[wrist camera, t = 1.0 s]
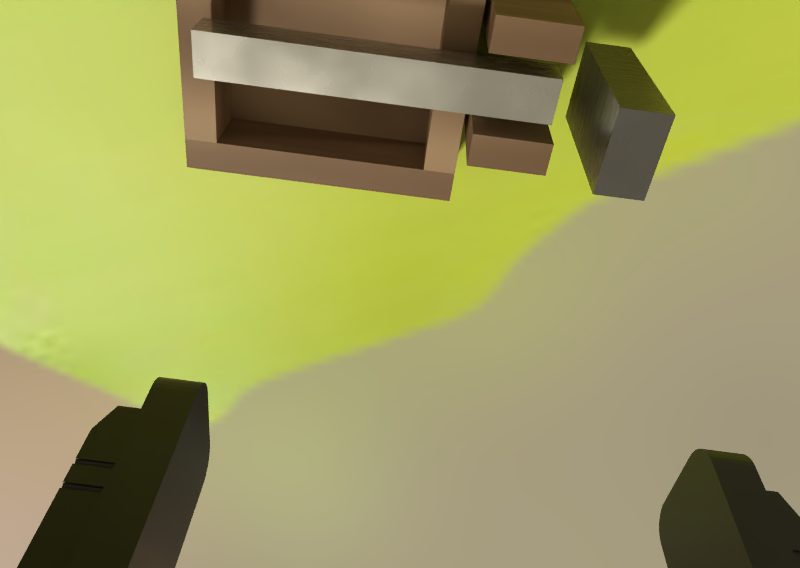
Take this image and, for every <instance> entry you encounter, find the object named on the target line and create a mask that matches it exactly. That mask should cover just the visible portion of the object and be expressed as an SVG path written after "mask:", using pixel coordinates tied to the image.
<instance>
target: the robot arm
mask: <svg viewBox="0 0 800 568" xmlns="http://www.w3.org/2000/svg"><path fill="white" fill-rule="evenodd" d="M209 452H210V435H209V412H208V391H207V385H206V383H202V382H194V381H186V380H179V379H171V378H163V377H158V378H157V379H156V380H155V381H154V383H153V385H152V387H151V389H150V391H149V393H148V395H147V397H146V399H145V401H144V404H143V406H142V408H141V409H139V408H132V407H124V406H117V407H116V408H115V409H114V410H113V411H112V412H110V413H109V414H108V415H107V416H106V417H105V418H103V419H102V420H101V421H100V422H99V423H98V424H97V425H95V426H94V427H93V428H92V429H91V431H90V433H89V434H88V436H87V438H86V440H85V442H84V444H83V445H82V447H81V449H80V451H79V453H78V455H77V457H76V461H75V464H72V466H71V468H70V470H69V472H68V474H67V475H66V477H65V479H64V481H63V486H62V488H60V489H59V490H58V492H57V494H56V496H55V498H54V500H53V501H52V504H51V505H50V507H49V509H48V511H47V513H46V515H45V516H44V518H43V520H42V522H41V524H40V526H39V528H38V530H37V531H36V533H35V535H34V537H33V539H32V541H31V543H30V544H29V546H28V549H27V550H26V552H25V554H24V556H23V558H22V559H21V561H20V563H19V565H18V567H17V568H175V566H176V563H177V560H178V557H179V554H180V551H181V548H182V545H183V542H184V539H185V536H186V533H187V530H188V527H189V525H190V522H191V519H192V516H193V513H194V510H195V507H196V504H197V501H198V498H199V495H200V492H201V489H202V486H203V483H204V480H205V476H206V471H207V467H208V461H209ZM659 533H660V540H661V545H662V548H663V552H664V556H665V559H666V563H667V567H668V568H800V517H799V516H798V515H797V513H796V512H795V511H794V510H793V509H792V508H791V506H790V505H789V504H788V503H787V502H786V501H785V500H784V498H783V497H782V496H781V495H780V494H779V493H778V492H774V491H766V490H765V488H764V485H763V483H762V481H761V479H760V476H759V474H758V472H757V470H756V467H755V465H754V463H753V462H752V460H751V459H750V458H749V457H748V456H746V455H744V454H737V453H729V452H721V451H714V450H706V449H697V450H695V451H694V452H693V453H692V454H691V456H690V458H689V459H688V461H687V463H686V465H685V466H684V468H683V470H682V472H681V473H680V475H679V477H678V479H677V481H676V482H675V484H674V486H673V488H672V490H671V491H670V493H669V495H668V497H667V498H666V500H665V502H664V504H663V506H662V509H661V514H660V521H659Z"/></svg>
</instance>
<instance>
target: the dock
mask: <svg viewBox="0 0 800 568" xmlns="http://www.w3.org/2000/svg"><path fill="white" fill-rule="evenodd" d="M176 5H177V20H178V35H179V51H180V66H181V81H182V96H183V112H184V127H185V142H186V157H187V167H190V168H198V169H206V170H213V171H221V172H229V173H237V174H245V175H252V176H260V177H268V178H276V179H283V180H291V181H299V182H307V183H314V184H322V185H330V186H338V187H345V188H353V189H361V190H369V191H376V192H384V193H392V194H400V195H407V196H415V197H423V198H431V199H439V200H446V201H450V195H451V190H452V184H453V179H454V173H455V168H456V162H457V157H458V151H459V146H460V140H461V135H462V129H463V124H464V121H465V138H466V156H467V166H475V167H483V168H490V169H498V170H506V171H513V172H521V173H529V174H536V175H544V176H545V175H546V171H547V168H548V164H549V160H550V156H551V153H552V149H553V145H554V144H553V141H552V137H551V134H550V130H549V127H548V125H546V124H538V123H531V122H523V121H516V120H508V119H501V118H493V117H486V116H478V115H470V114H463V113H455V112H448V111H440V110H433V109H425V108H418V107H410V106H403V105H395V104H387V103H380V102H372V101H365V100H357V99H350V98H342V97H335V96H327V95H320V94H312V93H304V92H297V91H289V90H282V89H274V88H267V87H259V86H252V85H244V84H237V83H229V82H221V81H214V80H206V79H199V78H194V77H193V59H192V41H191V29H192V28H193V27H194V26H195V25H196V24H197V23H198V22H199V21H200V20H201V19H202V18H203V17H204V18H211V19H218V20H226V21H233V22H241V23H248V24H256V25H263V26H270V27H278V28H285V29H293V30H300V31H307V32H315V33H322V34H330V35H337V36H344V37H352V38H359V39H367V40H374V41H381V42H389V43H396V44H404V45H411V46H419V47H426V48H433V49H441V50H448V51H456V52H463V53H470V54H476V52H477V47H478V41H479V36H480V30H481V25H482V19H483V20H484V26H485V33H486V39H487V45H488V52H489V53H493V54H500V55H507V56H515V57H522V58H530V59H537V60H544V61H552V62H559V63H567V64H574V65H575V63H576V59H577V55H578V52H579V48H580V44H581V40H582V37H583V33H584V29H585V26H584V24H583V22H582V20H581V18H580V16H579V15H578V13H577V11H576V9H575V7H574V5H573V4H572V2H571V0H176Z"/></svg>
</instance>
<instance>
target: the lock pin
mask: <svg viewBox="0 0 800 568" xmlns="http://www.w3.org/2000/svg"><path fill="white" fill-rule="evenodd" d="M191 41H192V59H193V77H194V78H199V79H206V80H214V81H221V82H229V83H237V84H244V85H252V86H259V87H267V88H274V89H282V90H289V91H297V92H304V93H312V94H320V95H327V96H335V97H342V98H350V99H357V100H365V101H372V102H380V103H387V104H395V105H403V106H410V107H418V108H425V109H433V110H440V111H448V112H455V113H463V114H470V115H478V116H486V117H493V118H501V119H508V120H516V121H523V122H531V123H538V124H546V125H552V121H553V117H554V114H555V110H556V106H557V102H558V98H559V94H560V90H561V87H562V83H563V78H562V75H561V72H560V70H559V67H558V65H552V64H544V63H537V62H530V61H522V60H515V59H507V58H500V57H493V56H485V55H478V54H470V53H463V52H456V51H448V50H441V49H433V48H426V47H419V46H411V45H404V44H396V43H389V42H381V41H374V40H367V39H359V38H352V37H344V36H337V35H330V34H322V33H315V32H307V31H300V30H293V29H285V28H278V27H270V26H263V25H256V24H248V23H241V22H233V21H226V20H218V19H211V18H204V17H203V18H202V19H201V20H200V21H199V22H198V23H197V24H196V25H195V26H194V27H193V28H192V29H191ZM674 118H675V114H674V112H673V111H672V109H671V108H670V106H669V105H668V103H667V102H666V100H665V99H664V97H663V96H662V94H661V93H660V91H659V90H658V88H657V87H656V85H655V84H654V82H653V81H652V79H651V78H650V76H649V75H648V73H647V72H646V70H645V69H644V67H643V66H642V64H641V63H640V61H639V60H638V58H637V57H636V55H635V54H634V52H633V51H632V49H631V48H628V47H621V46H613V45H606V44H599V43H591V42H586V44H585V47H584V51H583V55H582V58H581V62H580V66H579V69H578V73H577V77H576V81H575V84H574V88H573V92H572V95H571V99H570V103H569V106H568V110H567V114H566V119H567V122H568V124H569V127H570V130H571V133H572V136H573V139H574V142H575V145H576V147H577V150H578V153H579V156H580V159H581V162H582V165H583V167H584V170H585V173H586V176H587V179H588V182H589V185H590V188H591V190H592V193H593V194H596V195H603V196H611V197H619V198H627V199H634V200H642V201H644V199H645V197H646V194H647V191H648V189H649V186H650V183H651V181H652V178H653V175H654V172H655V170H656V167H657V164H658V161H659V159H660V156H661V153H662V151H663V148H664V145H665V142H666V140H667V137H668V134H669V131H670V129H671V126H672V123H673V121H674Z"/></svg>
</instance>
